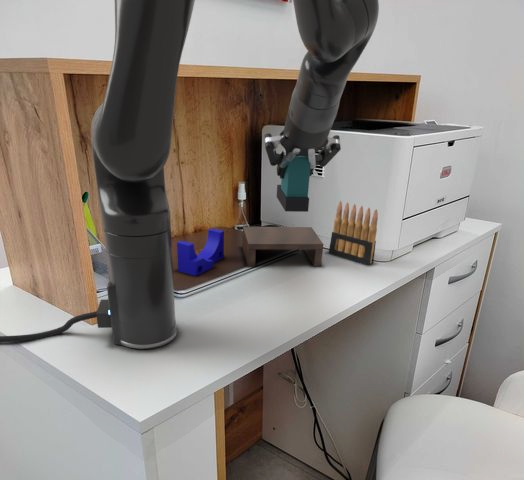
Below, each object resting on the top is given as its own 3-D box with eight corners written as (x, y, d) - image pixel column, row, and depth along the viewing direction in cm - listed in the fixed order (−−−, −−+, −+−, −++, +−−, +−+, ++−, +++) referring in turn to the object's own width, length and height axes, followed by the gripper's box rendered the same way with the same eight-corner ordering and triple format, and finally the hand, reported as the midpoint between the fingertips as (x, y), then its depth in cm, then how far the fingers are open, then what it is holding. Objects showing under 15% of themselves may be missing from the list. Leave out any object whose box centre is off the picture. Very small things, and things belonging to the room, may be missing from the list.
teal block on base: (285, 211, 93) (288, 158, 88) (276, 197, 102) (279, 147, 97) (308, 211, 93) (312, 158, 88) (297, 197, 103) (301, 148, 98)
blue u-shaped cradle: (195, 276, 99) (195, 247, 96) (178, 271, 101) (176, 242, 98) (229, 259, 108) (229, 232, 105) (212, 254, 110) (212, 228, 107)
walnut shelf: (247, 266, 105) (248, 243, 102) (242, 247, 115) (242, 226, 113) (321, 266, 107) (323, 244, 104) (309, 247, 117) (311, 227, 115)
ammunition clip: (373, 263, 110) (382, 209, 104) (369, 265, 109) (378, 210, 103) (332, 251, 116) (339, 199, 110) (328, 253, 115) (334, 200, 108)
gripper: (352, 93, 81) (327, 158, 97) (266, 89, 79) (255, 156, 95) (357, 133, 79) (330, 192, 95) (269, 130, 77) (257, 191, 94)
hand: (293, 174), depth 95 cm, fingers closed on teal block on base, 4 cm apart
